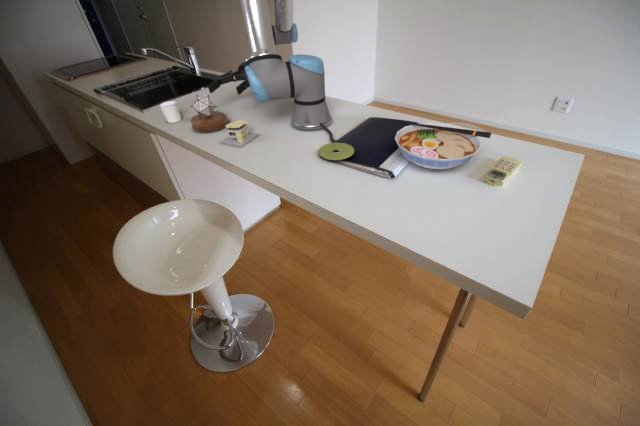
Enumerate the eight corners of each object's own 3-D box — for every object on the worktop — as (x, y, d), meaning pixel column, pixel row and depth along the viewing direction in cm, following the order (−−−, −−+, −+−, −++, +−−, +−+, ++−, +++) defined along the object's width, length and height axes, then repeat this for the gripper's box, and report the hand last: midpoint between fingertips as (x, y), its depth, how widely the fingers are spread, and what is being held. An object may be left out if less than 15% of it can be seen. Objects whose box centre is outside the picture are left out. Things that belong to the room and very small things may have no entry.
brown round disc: (233, 127, 113) (230, 118, 111) (197, 136, 108) (193, 127, 106) (223, 115, 123) (221, 107, 120) (190, 123, 118) (187, 115, 115)
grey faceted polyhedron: (209, 127, 114) (195, 113, 104) (196, 115, 116) (181, 101, 107) (225, 111, 115) (212, 96, 105) (211, 99, 117) (197, 83, 107)
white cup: (186, 117, 123) (180, 101, 119) (174, 124, 119) (167, 107, 114) (174, 116, 126) (168, 99, 121) (162, 122, 121) (155, 105, 116)
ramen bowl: (376, 170, 83) (379, 144, 78) (403, 138, 97) (406, 114, 92) (469, 193, 72) (479, 165, 67) (484, 153, 87) (493, 127, 81)
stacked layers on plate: (239, 131, 109) (235, 117, 106) (258, 135, 106) (254, 120, 102) (221, 142, 103) (216, 128, 99) (240, 146, 99) (236, 131, 96)
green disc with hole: (352, 166, 86) (352, 160, 84) (315, 164, 87) (315, 159, 86) (355, 148, 94) (355, 142, 93) (321, 147, 96) (321, 141, 94)
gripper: (276, 78, 127) (252, 101, 113) (229, 77, 134) (202, 98, 121) (272, 60, 121) (247, 81, 108) (223, 60, 129) (194, 80, 116)
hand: (223, 90), depth 115 cm, fingers open, 13 cm apart
